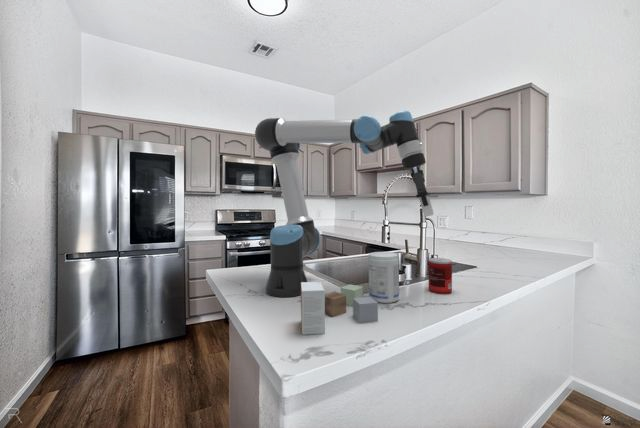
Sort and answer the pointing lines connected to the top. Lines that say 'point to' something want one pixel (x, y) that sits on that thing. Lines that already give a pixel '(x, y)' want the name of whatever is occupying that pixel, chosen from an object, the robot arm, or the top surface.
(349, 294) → the sage green block
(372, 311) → the slate grey block
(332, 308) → the walnut block
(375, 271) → the supplement tub
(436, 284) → the canned food
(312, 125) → the robot arm
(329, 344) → the top surface
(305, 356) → the top surface
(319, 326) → the small box
